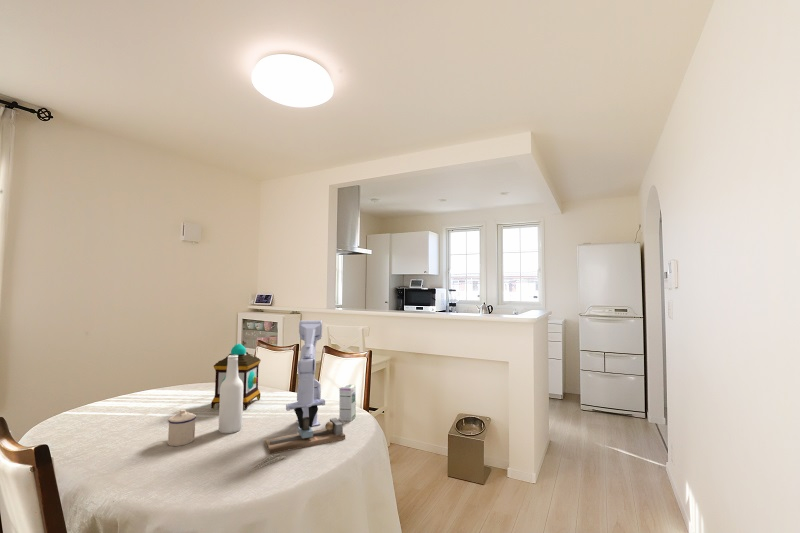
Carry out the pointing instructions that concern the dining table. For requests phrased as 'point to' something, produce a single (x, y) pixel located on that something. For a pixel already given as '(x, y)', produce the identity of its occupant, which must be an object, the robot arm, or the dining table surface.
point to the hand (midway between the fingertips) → (305, 426)
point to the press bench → (296, 441)
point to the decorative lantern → (245, 373)
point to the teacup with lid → (181, 428)
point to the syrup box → (347, 403)
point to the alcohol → (231, 399)
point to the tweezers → (269, 461)
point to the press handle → (305, 428)
